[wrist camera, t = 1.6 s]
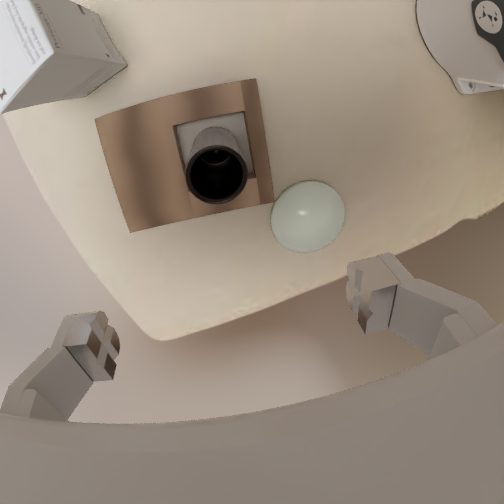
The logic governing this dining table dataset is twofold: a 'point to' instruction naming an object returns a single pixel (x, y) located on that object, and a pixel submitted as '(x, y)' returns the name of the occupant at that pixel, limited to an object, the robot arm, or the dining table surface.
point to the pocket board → (177, 154)
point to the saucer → (307, 216)
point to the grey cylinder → (216, 167)
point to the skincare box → (52, 52)
